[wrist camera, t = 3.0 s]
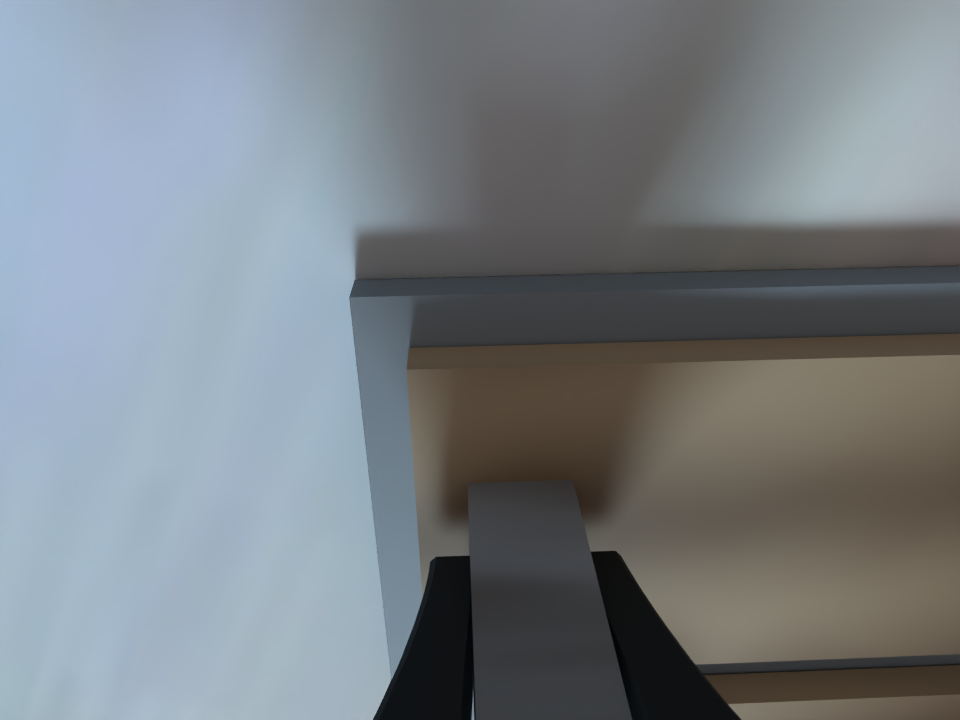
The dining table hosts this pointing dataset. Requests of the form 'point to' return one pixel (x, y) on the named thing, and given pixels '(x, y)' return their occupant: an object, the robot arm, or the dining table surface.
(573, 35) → the dining table surface
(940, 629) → the strip
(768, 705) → the strip
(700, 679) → the robot arm
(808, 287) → the lane board
